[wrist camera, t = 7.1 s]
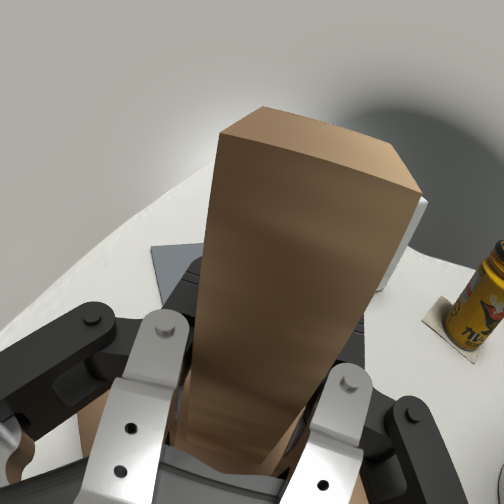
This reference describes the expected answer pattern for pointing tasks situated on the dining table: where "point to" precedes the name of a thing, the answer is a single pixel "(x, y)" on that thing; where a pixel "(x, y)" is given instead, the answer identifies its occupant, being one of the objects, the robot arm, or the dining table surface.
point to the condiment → (473, 308)
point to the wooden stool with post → (281, 281)
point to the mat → (173, 264)
